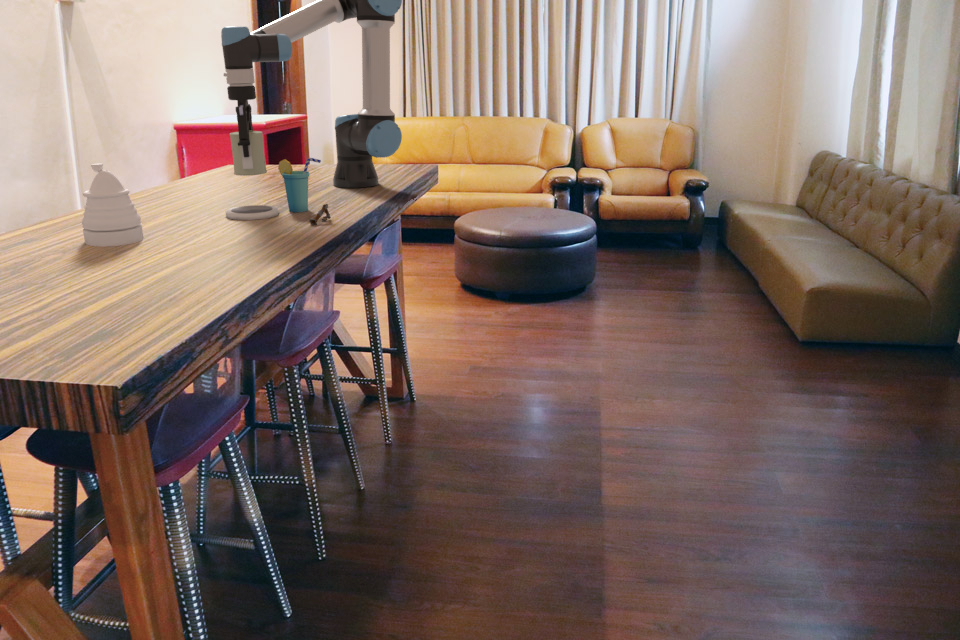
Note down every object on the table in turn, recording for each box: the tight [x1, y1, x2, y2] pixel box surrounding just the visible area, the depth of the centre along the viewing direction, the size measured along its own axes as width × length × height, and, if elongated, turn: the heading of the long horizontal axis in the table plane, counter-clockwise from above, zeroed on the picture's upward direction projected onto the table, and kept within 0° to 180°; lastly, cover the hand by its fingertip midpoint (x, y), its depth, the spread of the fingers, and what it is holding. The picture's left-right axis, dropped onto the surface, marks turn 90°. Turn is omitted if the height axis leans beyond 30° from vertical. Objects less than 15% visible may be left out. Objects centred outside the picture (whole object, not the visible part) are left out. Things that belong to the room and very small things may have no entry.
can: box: [229, 130, 268, 177], centre depth 232 cm, size 9×9×12 cm
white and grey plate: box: [225, 204, 280, 221], centre depth 222 cm, size 14×14×2 cm
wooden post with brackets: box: [308, 203, 331, 226], centre depth 213 cm, size 2×8×4 cm, turn 157°
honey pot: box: [81, 163, 144, 248], centre depth 190 cm, size 13×13×18 cm
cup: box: [278, 157, 322, 213], centre depth 226 cm, size 14×8×15 cm, turn 73°
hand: (249, 166), depth 234 cm, fingers closed on can, 9 cm apart
